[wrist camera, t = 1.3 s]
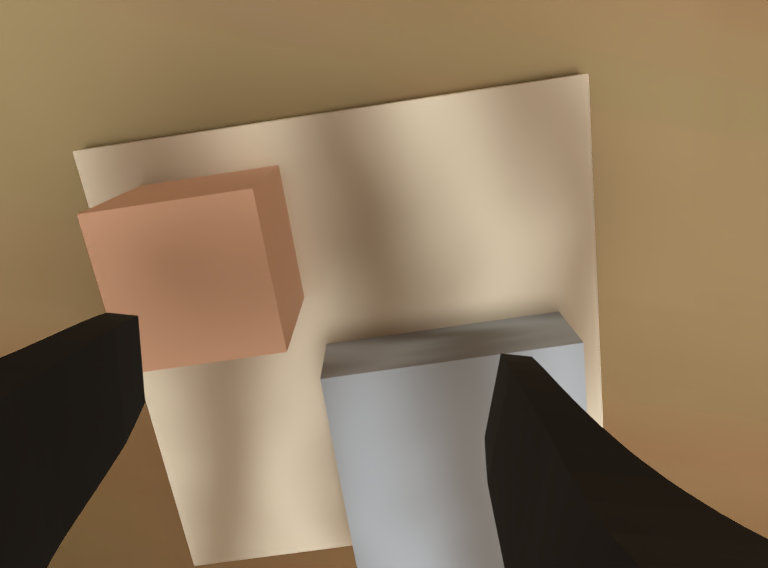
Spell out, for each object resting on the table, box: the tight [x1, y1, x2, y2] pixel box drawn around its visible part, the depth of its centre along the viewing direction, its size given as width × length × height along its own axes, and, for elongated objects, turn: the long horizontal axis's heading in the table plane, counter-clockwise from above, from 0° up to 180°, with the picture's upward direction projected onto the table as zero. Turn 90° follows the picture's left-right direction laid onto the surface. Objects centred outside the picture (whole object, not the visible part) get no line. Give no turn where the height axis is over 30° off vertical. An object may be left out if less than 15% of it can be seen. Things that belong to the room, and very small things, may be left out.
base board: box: [73, 74, 603, 568], centre depth 24 cm, size 18×18×4 cm
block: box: [77, 165, 304, 372], centre depth 21 cm, size 5×5×5 cm
